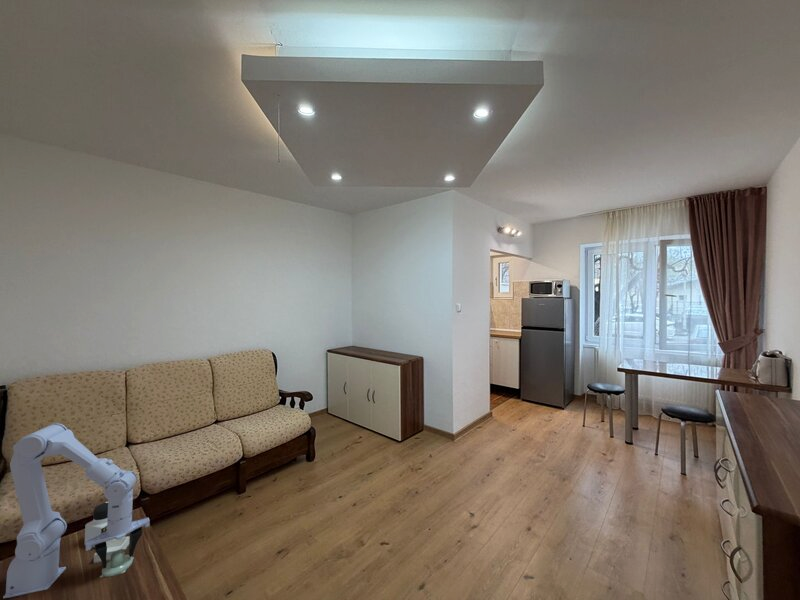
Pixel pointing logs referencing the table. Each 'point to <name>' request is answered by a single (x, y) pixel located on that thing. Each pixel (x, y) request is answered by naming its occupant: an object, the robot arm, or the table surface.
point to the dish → (113, 548)
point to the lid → (117, 563)
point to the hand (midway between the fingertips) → (117, 560)
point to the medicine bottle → (97, 522)
